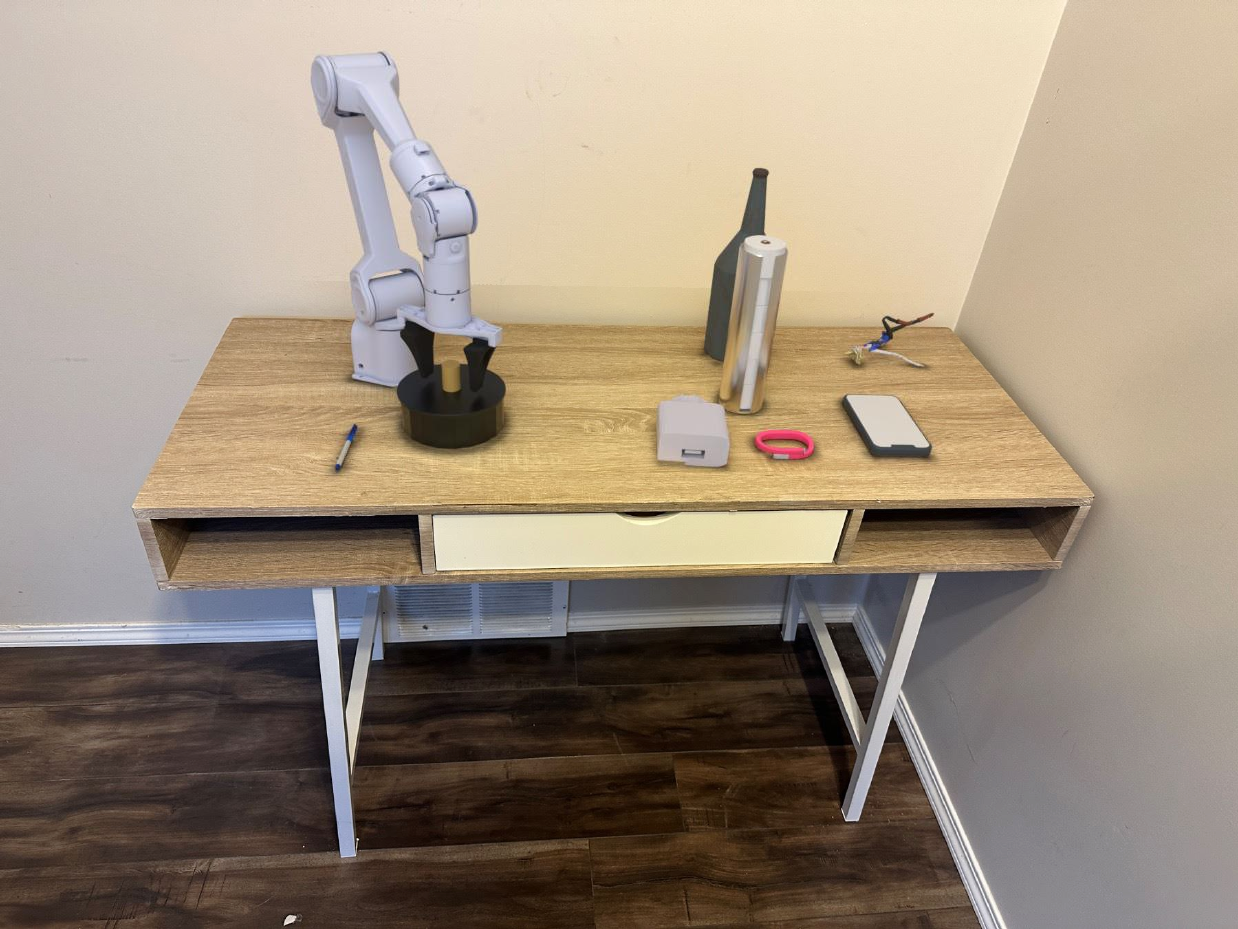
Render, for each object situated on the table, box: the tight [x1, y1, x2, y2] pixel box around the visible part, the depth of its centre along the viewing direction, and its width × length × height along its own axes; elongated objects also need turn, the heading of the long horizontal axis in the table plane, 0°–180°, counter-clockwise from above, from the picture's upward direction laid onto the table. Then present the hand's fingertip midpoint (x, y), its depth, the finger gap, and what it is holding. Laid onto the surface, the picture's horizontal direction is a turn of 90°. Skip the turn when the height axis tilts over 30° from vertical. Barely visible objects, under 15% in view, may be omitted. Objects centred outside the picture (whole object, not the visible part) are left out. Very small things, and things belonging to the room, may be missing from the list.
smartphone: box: [842, 393, 933, 457], centre depth 130 cm, size 9×2×16 cm
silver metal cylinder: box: [718, 235, 789, 415], centre depth 127 cm, size 6×6×25 cm
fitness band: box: [754, 429, 815, 460], centre depth 124 cm, size 8×6×2 cm
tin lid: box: [396, 359, 507, 418], centre depth 120 cm, size 14×14×5 cm
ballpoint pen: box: [334, 423, 358, 472], centre depth 117 cm, size 10×1×1 cm, turn 2°
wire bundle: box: [844, 312, 935, 368], centre depth 150 cm, size 10×9×20 cm
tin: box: [400, 398, 505, 450], centre depth 123 cm, size 14×14×5 cm
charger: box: [655, 392, 731, 468], centre depth 124 cm, size 5×9×15 cm
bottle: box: [703, 167, 770, 363], centre depth 140 cm, size 10×10×30 cm
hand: (451, 381), depth 120 cm, fingers open, 7 cm apart
